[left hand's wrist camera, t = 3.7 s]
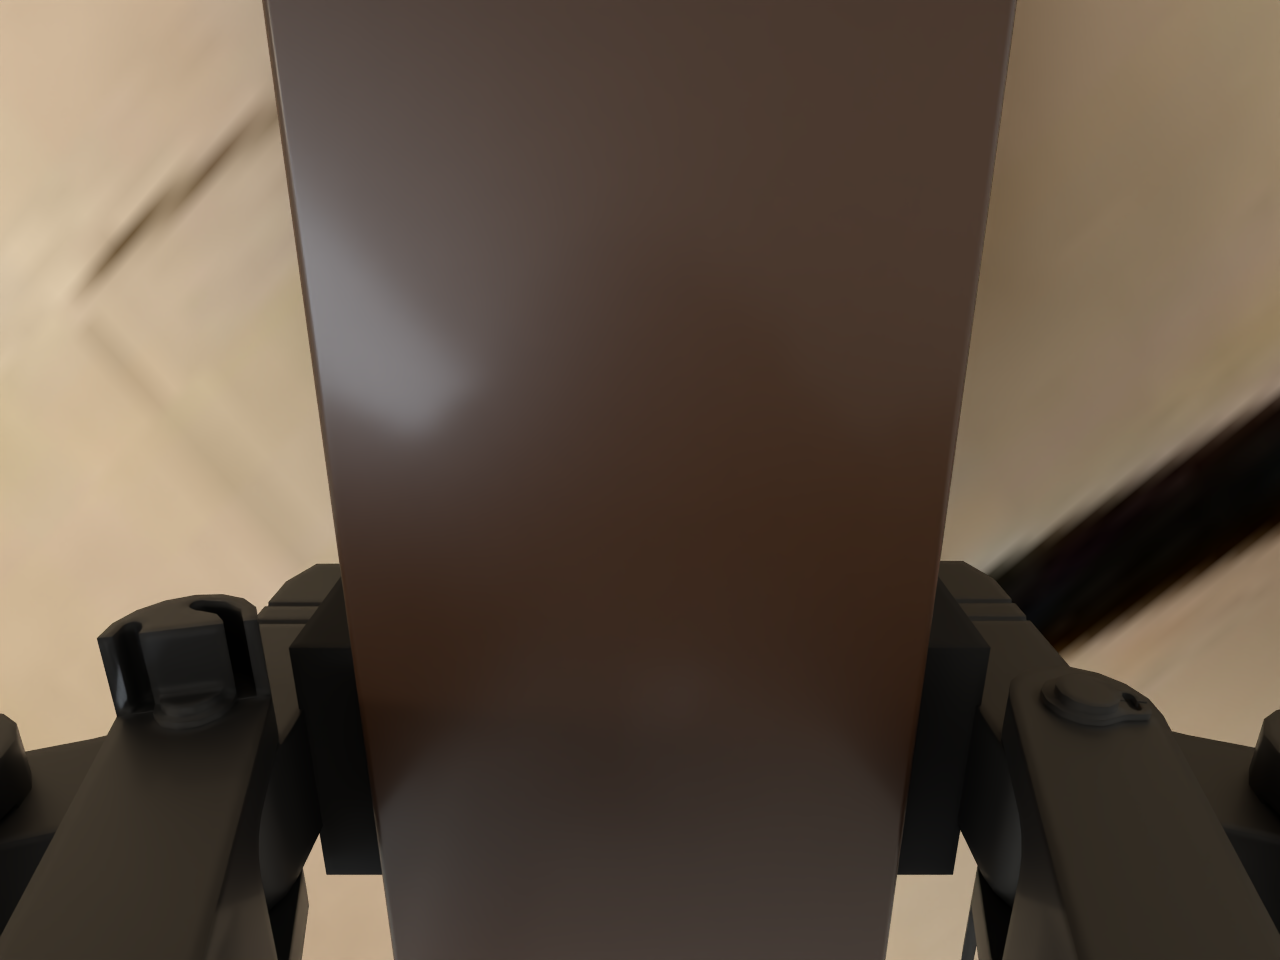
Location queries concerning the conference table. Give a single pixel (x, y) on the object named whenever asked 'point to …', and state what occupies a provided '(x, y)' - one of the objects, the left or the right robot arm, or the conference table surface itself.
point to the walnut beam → (639, 446)
